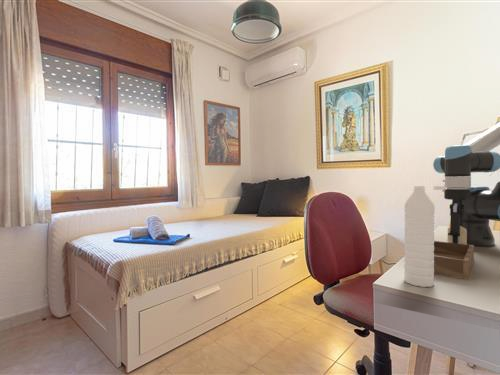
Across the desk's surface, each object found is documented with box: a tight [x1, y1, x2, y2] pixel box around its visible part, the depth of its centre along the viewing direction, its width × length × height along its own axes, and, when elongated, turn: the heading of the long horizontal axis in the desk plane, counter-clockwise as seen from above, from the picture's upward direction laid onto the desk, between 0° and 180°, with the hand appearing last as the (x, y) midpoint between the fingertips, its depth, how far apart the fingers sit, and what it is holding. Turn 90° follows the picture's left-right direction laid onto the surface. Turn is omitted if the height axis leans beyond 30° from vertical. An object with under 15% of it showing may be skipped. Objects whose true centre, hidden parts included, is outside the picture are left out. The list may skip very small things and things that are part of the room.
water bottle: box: [403, 185, 447, 288], centre depth 68 cm, size 9×6×25 cm
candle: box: [447, 226, 467, 245], centre depth 97 cm, size 6×6×10 cm
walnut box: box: [433, 240, 475, 281], centre depth 83 cm, size 23×12×5 cm, turn 137°
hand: (456, 251), depth 98 cm, fingers open, 7 cm apart
